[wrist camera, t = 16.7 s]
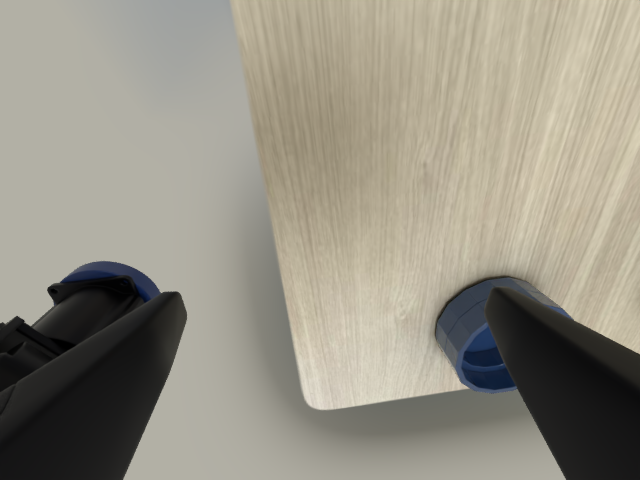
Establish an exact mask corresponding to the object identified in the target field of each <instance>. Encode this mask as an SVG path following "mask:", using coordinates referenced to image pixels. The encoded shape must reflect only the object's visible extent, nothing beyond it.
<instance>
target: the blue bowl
mask: <svg viewBox="0 0 640 480" xmlns="http://www.w3.org/2000/svg"><path fill="white" fill-rule="evenodd" d="M493 287H510V288H512V289H514V290H516V291H518V292H520V293H522V294H524V295H526V296H528V297H529V298H531V299H533V300H535V301H537V302H539V303H541V304H543V305H545V306H547V307H549V308H551V309H553V310H555V311H557V312H559V313H560V314H562V315H564V316H566V317H568V318H570V319H572V318H571V317H570V316H569V315H568V314H567V313H566V312H565V311H564V310H563V309H562V308H561V307H560V306H558V305H557V304H556V303H554V302H553V301H552V300H551V299H549V298H548V297H547V296H545V295H544V294H543V293H541V292H540V291H539V290H537V289H536V288H535V287H533V286H532V285H531V284H530V283H528V282H526V281H522V280H518V279H514V278H510V277H507V278H499V279H491V280H486V281H484V282H482V283H479V284H477V285H475V286H473V287H470V288H468V289H466V290H464V291H463V292H462V293H461V294H460V295H458V296H457V297H456V298H455V299H454V300H453V301H451V302H450V303H449V304H448V305H447V307H446V308H445V310H444V312H443V313H442V315H441V317H440V318H439V320H438V322H437V330H436V339H437V342H438V344H439V346H440V348H441V350H442V352H443V354H444V355H445V357H446V359H447V360H448V362H449V364H450V365H451V367H452V369H453V370H454V372H455V374H456V375H457V377H458V378H459V380H460V382H461V383H462V384H464V385H466V386H467V387H469V388H470V389H472V390H474V391H478V392H485V393H500V392H506V391H513V390H516V389H517V387H516V385H515V383H514V381H513V380H512V378H511V376H510V374H509V372H508V370H507V368H506V366H505V364H504V362H503V359H502V357H501V355H500V352H499V350H498V347H497V345H496V343H495V340H494V338H493V335H492V333H491V330H490V328H489V326H488V323H487V321H486V318H485V315H484V307H485V304H486V302H487V299H488V296H489V293H490V291H491V289H492V288H493ZM572 320H573V319H572Z"/></svg>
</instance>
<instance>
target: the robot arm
mask: <svg viewBox="0 0 640 480" xmlns="http://www.w3.org/2000/svg"><path fill="white" fill-rule="evenodd" d="M124 280H125V281H127V282H124ZM55 289H56V290H55ZM47 291H48V293H49V295H50V296H51V297H52V299H53V301H54V302H55V304H56V305H55V306H54V307H52V308H51V309H50V310H49V311H48V312H47V313H45V314H44V315H43V316H42V317H41V318H40V319H39V320H38V321H36V322H35V323H34V324H33V325H32V326H29V325H27V324H26V323H24V322H25V321H24V320H23V319H21V318H19V317H18V316H16V317H15V318H13V319H12V320H10V321H9V322H7V323H6V324H4V323H3V322H2V323H0V480H123V478H124V476H125V474H126V472H127V469H128V467H129V464H130V462H131V460H132V458H133V456H134V453H135V451H136V449H137V446H138V444H139V442H140V440H141V437H142V434H143V433H144V430H145V428H146V426H147V423H148V421H149V419H150V417H151V414H152V412H153V410H154V407H155V405H156V403H157V400H158V398H159V396H160V393H161V391H162V389H163V387H164V385H165V382H166V380H167V378H168V375H169V373H170V370H171V367H172V365H173V362H174V359H175V355H176V352H177V349H178V346H179V343H180V339H181V336H182V333H183V330H184V327H185V324H186V320H187V312H186V309H185V306H184V303H183V300H182V297H181V295H180V293H179V292H163V293H161V294H159V295H158V296H156V297H154V298H153V299H151V300H150V301H148V302H146V303H144V301H143V299H142V298H141V296H140V294H139V291H138V289H137V287H136V285H135V283H134V281H133V279H132V277H130V276H128V275H119V276H111V277H103V278H95V279H87V280H78V281H70V282H62V283H55V284H52V285H51V286H50V287H48V289H47ZM484 315H485V318H486V321H487V323H488V326H489V328H490V330H491V333H492V335H493V338H494V340H495V343H496V345H497V347H498V350H499V352H500V355H501V357H502V359H503V362H504V364H505V366H506V368H507V370H508V372H509V374H510V376H511V378H512V380H513V381H514V383H515V385H516V387H517V389H518V391H519V392H520V394H521V396H522V398H523V400H524V402H525V404H526V406H527V408H528V409H529V411H530V413H531V415H532V417H533V419H534V421H535V422H536V424H537V426H538V428H539V430H540V432H541V433H542V435H543V437H544V439H545V441H546V443H547V445H548V447H549V449H550V450H551V452H552V454H553V456H554V458H555V460H556V461H557V463H558V465H559V467H560V469H561V471H562V473H563V475H564V476H565V478H566V480H640V354H638V353H636V352H634V351H632V350H630V349H628V348H626V347H624V346H622V345H620V344H619V343H617V342H615V341H613V340H611V339H609V338H607V337H605V336H603V335H601V334H599V333H597V332H595V331H593V330H591V329H589V328H588V327H586V326H584V325H582V324H580V323H578V322H576V321H574V320H572V319H570V318H568V317H566V316H564V315H562V314H560V313H559V312H557V311H555V310H553V309H551V308H549V307H547V306H545V305H543V304H541V303H539V302H537V301H535V300H533V299H531V298H529V297H528V296H526V295H524V294H522V293H520V292H518V291H516V290H514V289H512V288H510V287H493V288H492V289H491V291H490V293H489V296H488V299H487V302H486V304H485V307H484Z"/></svg>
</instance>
